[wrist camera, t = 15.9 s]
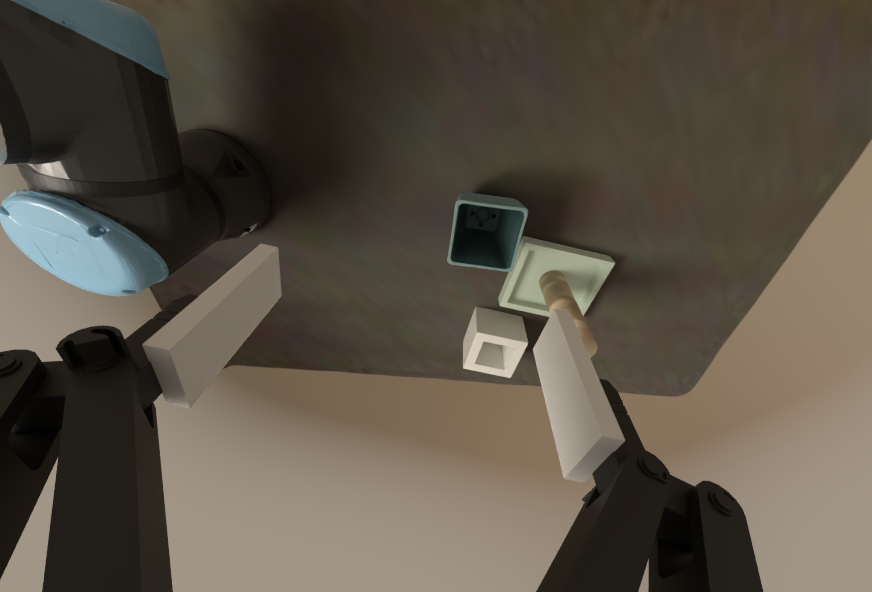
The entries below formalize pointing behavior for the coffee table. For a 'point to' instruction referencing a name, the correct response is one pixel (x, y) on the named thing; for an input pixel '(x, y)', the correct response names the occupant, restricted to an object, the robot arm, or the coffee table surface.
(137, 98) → the robot arm
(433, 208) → the coffee table surface
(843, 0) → the coffee table surface
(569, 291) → the dowel
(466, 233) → the flower pot
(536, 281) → the tray
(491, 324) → the hollow block
